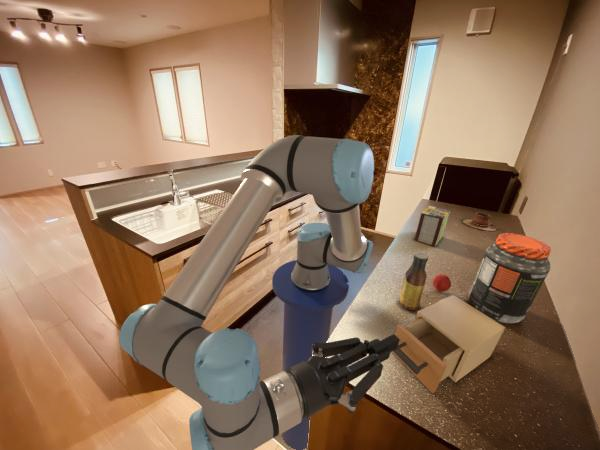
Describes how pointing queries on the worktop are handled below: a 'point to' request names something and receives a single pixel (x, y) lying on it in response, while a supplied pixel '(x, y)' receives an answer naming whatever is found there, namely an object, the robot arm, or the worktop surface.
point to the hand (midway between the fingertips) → (395, 341)
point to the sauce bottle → (414, 282)
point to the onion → (442, 282)
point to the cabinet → (464, 331)
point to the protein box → (431, 225)
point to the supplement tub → (510, 277)
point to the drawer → (427, 352)
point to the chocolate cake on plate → (480, 221)
